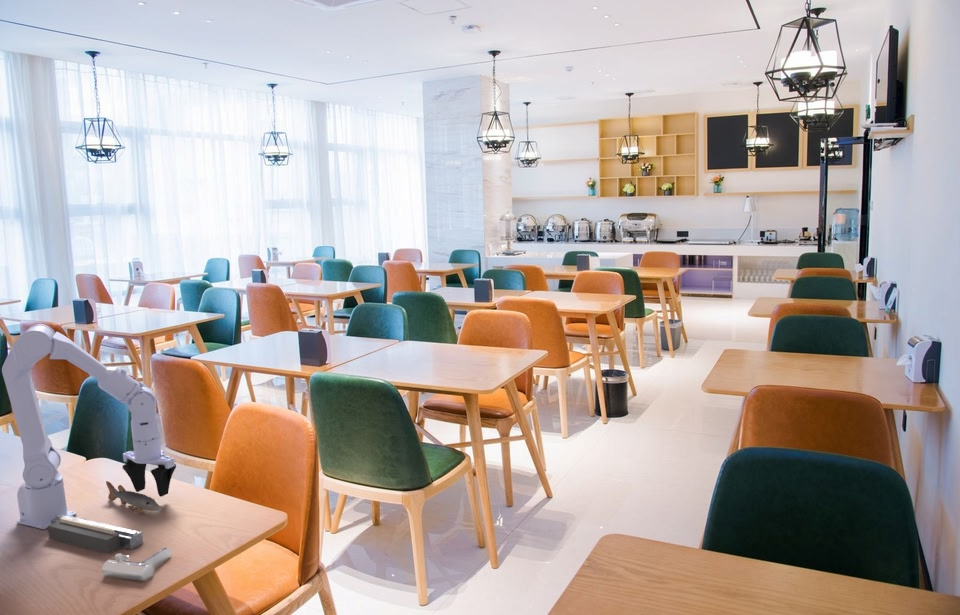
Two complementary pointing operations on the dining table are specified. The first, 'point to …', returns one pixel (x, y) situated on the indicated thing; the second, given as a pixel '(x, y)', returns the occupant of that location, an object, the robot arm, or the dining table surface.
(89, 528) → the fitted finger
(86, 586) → the dining table surface
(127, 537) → the rail
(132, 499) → the fish
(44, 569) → the dining table surface
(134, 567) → the silver l-shaped piece
